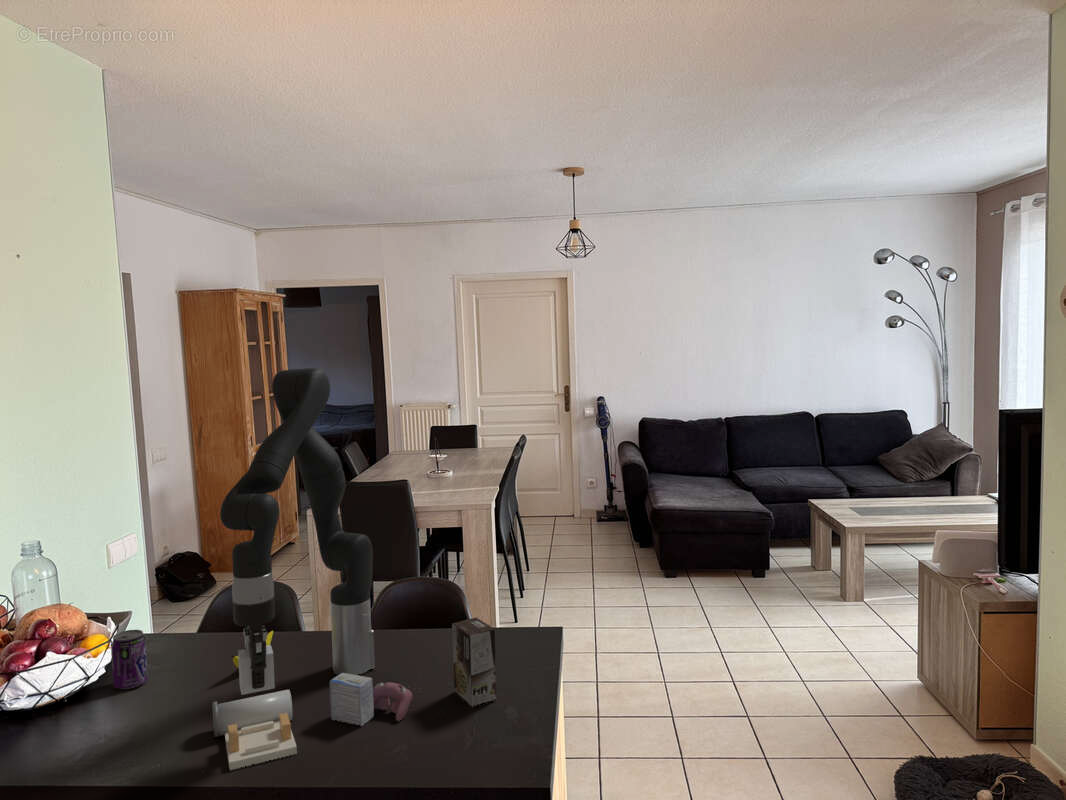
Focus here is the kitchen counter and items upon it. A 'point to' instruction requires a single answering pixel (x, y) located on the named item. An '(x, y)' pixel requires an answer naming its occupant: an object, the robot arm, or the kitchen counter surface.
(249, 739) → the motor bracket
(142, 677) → the beverage can
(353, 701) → the medicine box
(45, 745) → the kitchen counter surface
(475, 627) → the coffee box
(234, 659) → the banana
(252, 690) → the grey box with knob
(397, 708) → the video game controller
